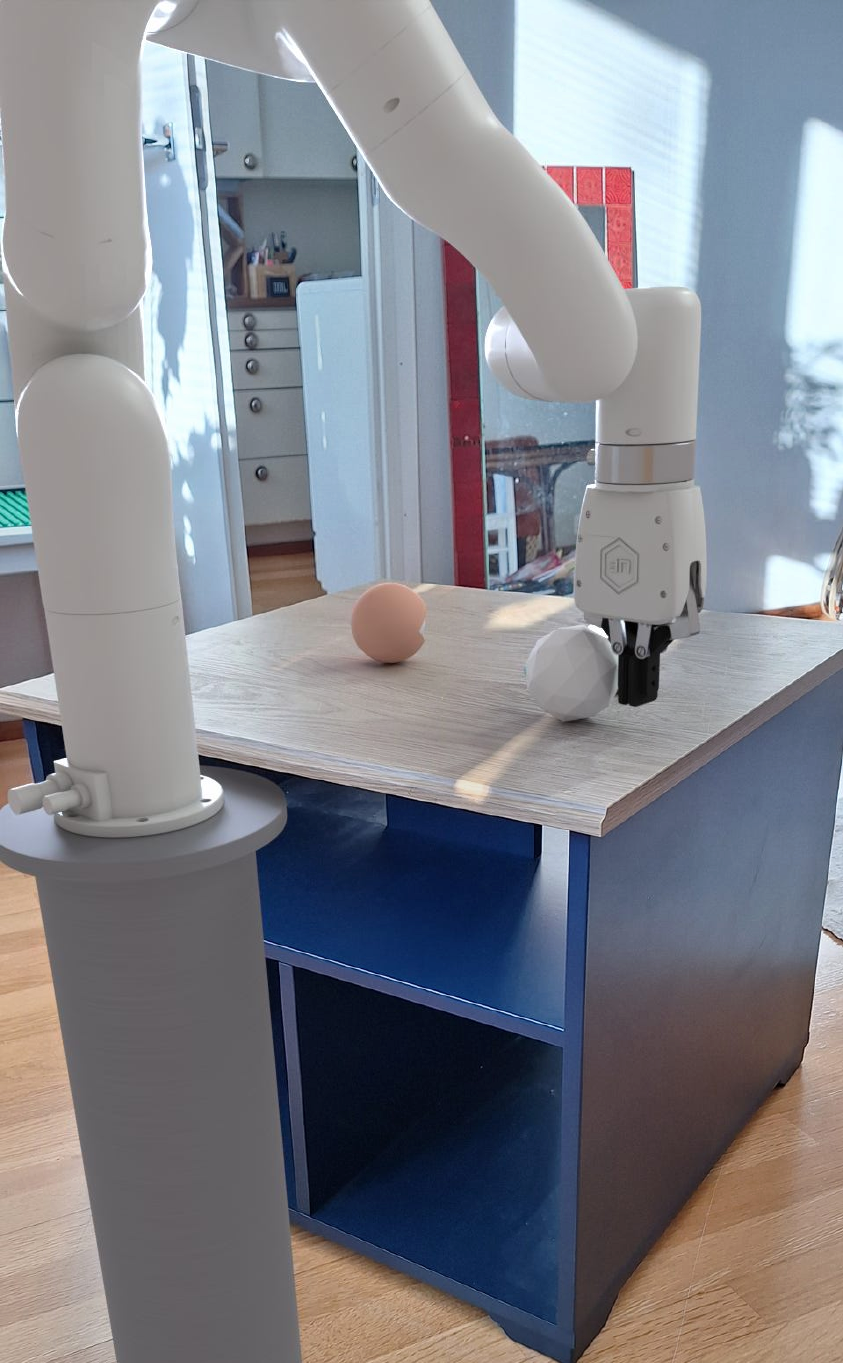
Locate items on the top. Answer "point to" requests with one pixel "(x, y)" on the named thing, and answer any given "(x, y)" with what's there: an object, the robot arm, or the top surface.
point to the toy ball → (389, 622)
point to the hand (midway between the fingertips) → (637, 701)
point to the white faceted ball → (572, 673)
